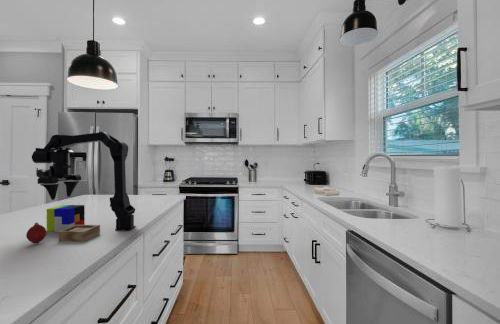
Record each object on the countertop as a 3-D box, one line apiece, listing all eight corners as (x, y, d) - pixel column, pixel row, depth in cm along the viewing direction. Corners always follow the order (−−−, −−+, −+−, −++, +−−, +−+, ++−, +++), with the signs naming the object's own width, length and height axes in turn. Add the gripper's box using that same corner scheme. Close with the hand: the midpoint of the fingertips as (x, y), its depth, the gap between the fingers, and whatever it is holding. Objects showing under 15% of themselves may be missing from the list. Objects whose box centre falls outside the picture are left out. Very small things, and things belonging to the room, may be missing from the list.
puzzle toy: (69, 232, 112) (69, 209, 111) (46, 231, 112) (46, 209, 112) (84, 226, 122) (84, 205, 121) (63, 225, 122) (63, 204, 122)
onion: (50, 242, 97) (50, 221, 97) (33, 247, 92) (33, 225, 92) (40, 240, 99) (39, 220, 99) (22, 245, 94) (22, 223, 94)
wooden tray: (99, 233, 109) (99, 225, 109) (84, 241, 99) (84, 231, 99) (76, 233, 109) (76, 224, 109) (58, 241, 99) (58, 231, 99)
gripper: (59, 163, 124) (59, 195, 124) (24, 163, 105) (24, 201, 105) (81, 163, 123) (82, 195, 124) (51, 163, 105) (51, 201, 105)
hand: (61, 198), depth 114 cm, fingers open, 9 cm apart
